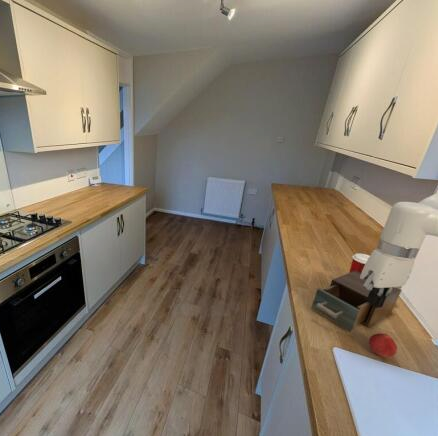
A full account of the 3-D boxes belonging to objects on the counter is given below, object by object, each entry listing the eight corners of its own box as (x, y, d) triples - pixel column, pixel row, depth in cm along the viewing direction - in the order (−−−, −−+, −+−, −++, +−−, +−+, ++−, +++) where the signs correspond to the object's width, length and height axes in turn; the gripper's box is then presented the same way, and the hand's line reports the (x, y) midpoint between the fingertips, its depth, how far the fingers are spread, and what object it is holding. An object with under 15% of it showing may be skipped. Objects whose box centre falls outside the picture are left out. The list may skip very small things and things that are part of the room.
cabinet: (367, 326, 80) (378, 302, 77) (324, 301, 92) (332, 279, 88) (391, 313, 86) (401, 289, 83) (348, 291, 98) (355, 270, 95)
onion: (360, 349, 72) (369, 328, 69) (372, 344, 74) (381, 323, 71) (384, 366, 67) (394, 344, 64) (396, 359, 69) (406, 338, 66)
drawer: (341, 337, 75) (350, 316, 72) (303, 311, 86) (308, 292, 83) (374, 319, 82) (382, 299, 79) (335, 297, 93) (341, 279, 90)
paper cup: (369, 288, 101) (381, 259, 96) (362, 293, 97) (373, 263, 92) (347, 278, 107) (357, 251, 102) (339, 283, 103) (349, 255, 98)
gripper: (405, 241, 67) (382, 294, 74) (358, 243, 66) (339, 297, 72) (438, 253, 60) (410, 311, 67) (387, 256, 59) (363, 315, 65)
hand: (373, 304), depth 69 cm, fingers closed
